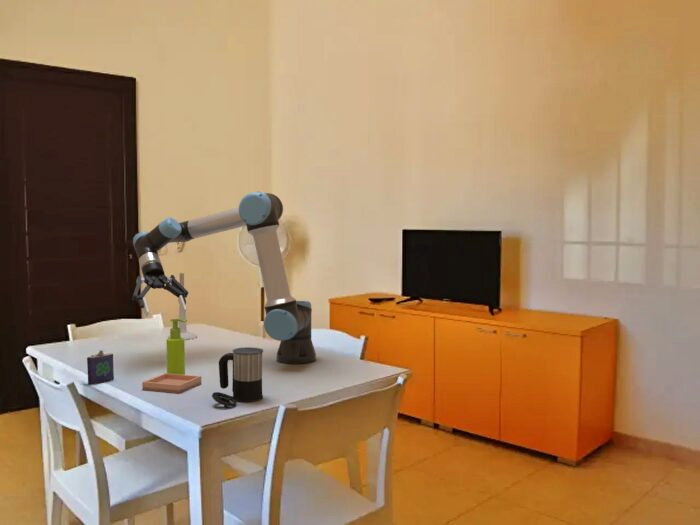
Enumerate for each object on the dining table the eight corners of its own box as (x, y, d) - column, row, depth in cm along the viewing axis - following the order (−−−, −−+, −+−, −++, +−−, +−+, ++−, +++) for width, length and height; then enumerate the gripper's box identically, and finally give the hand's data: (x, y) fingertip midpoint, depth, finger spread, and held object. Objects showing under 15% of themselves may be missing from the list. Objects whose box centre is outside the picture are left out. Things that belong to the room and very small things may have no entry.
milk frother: (265, 394, 200) (264, 346, 199) (259, 409, 184) (259, 357, 184) (218, 394, 200) (218, 347, 199) (209, 409, 184) (208, 357, 183)
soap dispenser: (182, 379, 218) (182, 320, 217) (164, 378, 220) (163, 319, 218) (190, 375, 224) (189, 318, 223) (172, 374, 225) (171, 317, 224)
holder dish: (201, 383, 212) (201, 376, 212) (179, 393, 200) (179, 385, 200) (165, 380, 217) (165, 373, 216) (142, 389, 205) (142, 382, 204)
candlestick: (167, 336, 299) (166, 271, 297) (196, 334, 303) (195, 270, 301) (168, 341, 287) (167, 273, 285) (198, 339, 290) (197, 273, 288)
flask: (111, 378, 219) (110, 347, 219) (116, 379, 218) (115, 348, 217) (86, 384, 212) (85, 351, 211) (91, 385, 210) (90, 352, 209)
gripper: (181, 273, 251) (196, 316, 240) (115, 275, 236) (128, 322, 225) (186, 260, 246) (202, 304, 235) (119, 261, 231) (133, 308, 220)
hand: (166, 313), depth 230 cm, fingers open, 13 cm apart
